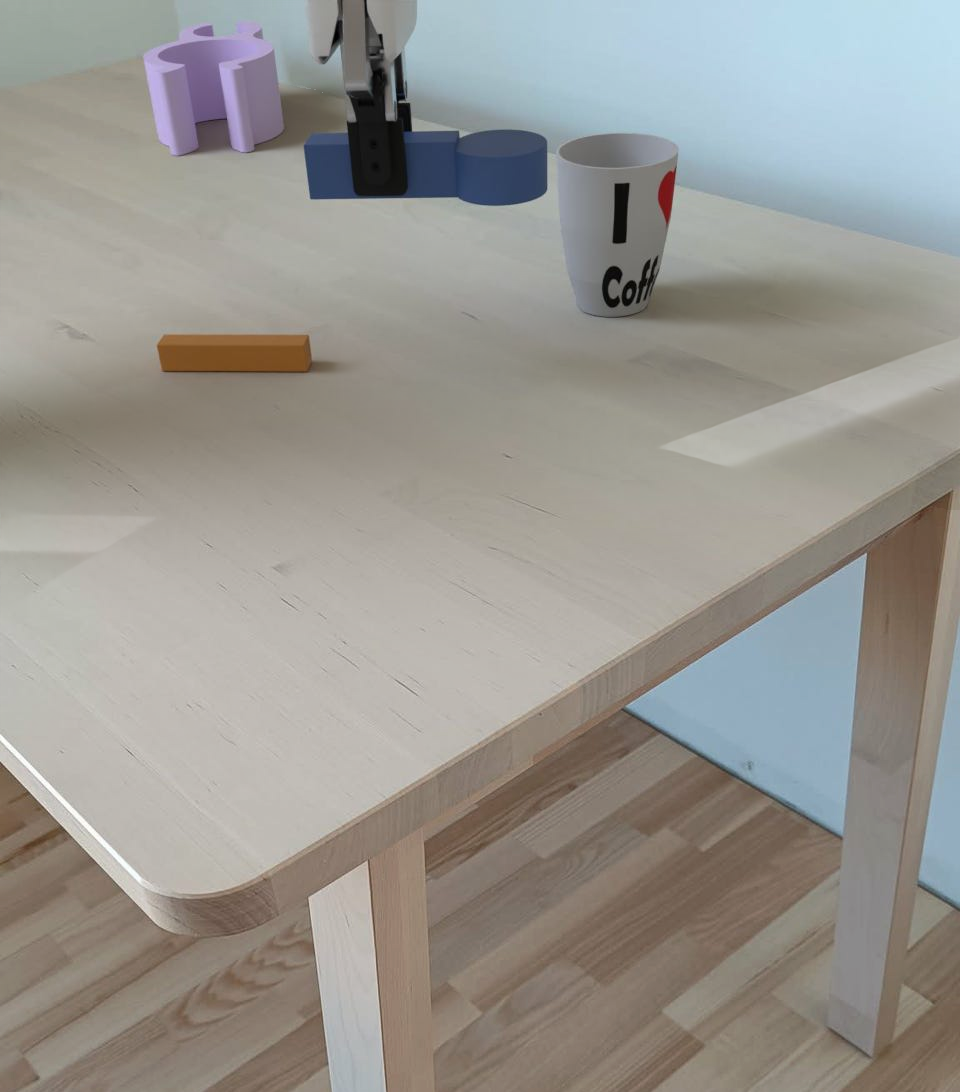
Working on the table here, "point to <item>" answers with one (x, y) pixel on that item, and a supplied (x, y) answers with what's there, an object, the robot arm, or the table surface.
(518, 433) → the table surface
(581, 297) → the cup
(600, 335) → the table surface
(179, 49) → the clip
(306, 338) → the bar
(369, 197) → the spoon
